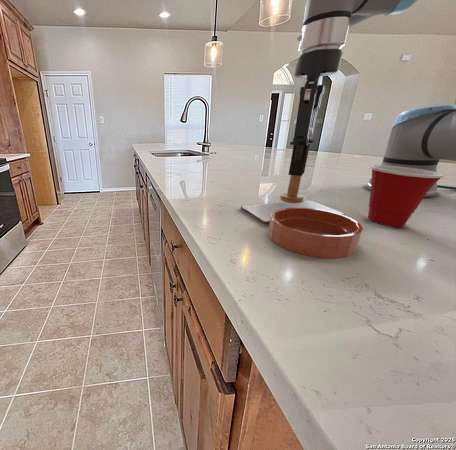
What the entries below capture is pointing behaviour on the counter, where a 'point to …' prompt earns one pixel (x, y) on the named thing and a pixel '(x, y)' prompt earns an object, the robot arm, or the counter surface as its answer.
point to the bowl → (315, 232)
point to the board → (266, 210)
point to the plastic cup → (398, 193)
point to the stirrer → (294, 187)
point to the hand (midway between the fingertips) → (296, 173)
